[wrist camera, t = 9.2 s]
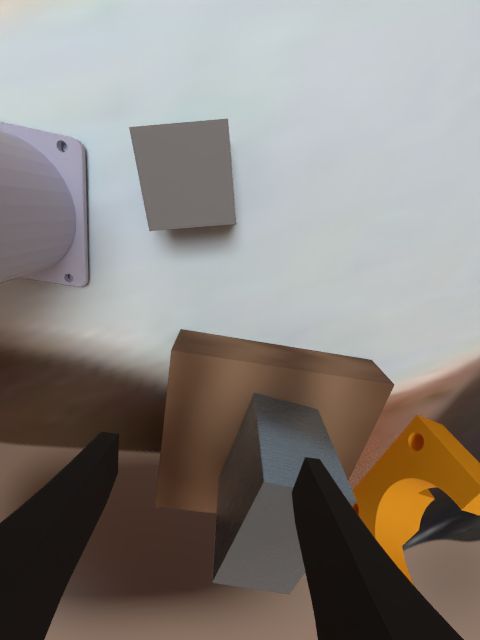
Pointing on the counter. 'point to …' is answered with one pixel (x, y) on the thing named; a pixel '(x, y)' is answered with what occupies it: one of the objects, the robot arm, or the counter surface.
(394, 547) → the pipe clamp
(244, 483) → the block
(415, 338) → the counter surface
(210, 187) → the grey rubber block
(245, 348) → the walnut stand
